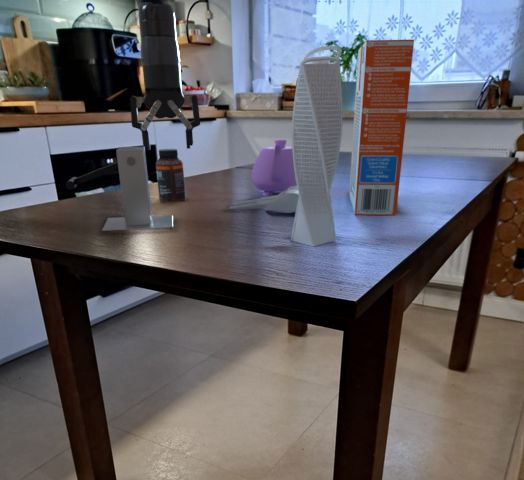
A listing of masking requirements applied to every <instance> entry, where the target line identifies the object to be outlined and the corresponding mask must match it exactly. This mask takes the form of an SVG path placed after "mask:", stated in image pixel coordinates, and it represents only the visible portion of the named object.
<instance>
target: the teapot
mask: <svg viewBox="0 0 524 480" xmlns="http://www.w3.org/2000/svg"><path fill="white" fill-rule="evenodd" d="M274 144H275V146H265V147H263V148H262V149H261V151H260V152H259V154H258V156H257V157H256V159H255V161H254V163H253V166H252V171H251V175H250V181H251V183H252V184H253V185H254V187H255V188H256V189H257V190H259V191H263V193H262V196H264V197H267V196H273V195H274V194H273V193H274V192H275V193H276V192H278V193H279V192H280V193H281V192H283V191H284V190H286V189H287V188H289V187H291V186H297V184H296V178H295V171H294V164H293V154H292V145H291V146H290V145H289V146H287V145H286V144H287V140H286V139H274Z"/></svg>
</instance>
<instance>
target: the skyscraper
mask: <svg viewBox="0 0 524 480" xmlns="http://www.w3.org/2000/svg"><path fill="white" fill-rule="evenodd" d="M330 50H331V51H332V50H333V51H337V53H336V55H335V56H326V55H325V56H324V55H323V56H313V55H314V54H316V53H319V52H323V51H330ZM342 51H343V50H342V48H341V47H340V46H337V45H324V46H319V47H316V48H314V49H312V50H311V51H309V52H308V53H307V54H306V55H305V56H304V58H302V61H301V62H300V65H299V69H298V73H297V81H296V87H295V93H294V99H293V100H294V101H293V108H292V117H291V147H292V154H293V164H294V171H295V178H296V184H297V189H298V194H299V199H298V204H297V209H296V213H294V220H293V223H292V229H291V230H292V231H291V236H290V242H294V243H298V244H302V245H307V246H311V247H316V246H322V245H324V244H327V243H331V242H336V241H337V236H336V229H335V227H336V226H335V221H334V213H333V206H332V200H331V199H332V198H331V189H332V185H333V182H334V178H335V175H336V171H337V166H338V163H339V156H340V150H341V145H342V137H343V115H344V113H343V89H342V78H341V66H340V65H341V64H340V63H341V62H340V56H341V53H342ZM330 62H333V63H330Z"/></svg>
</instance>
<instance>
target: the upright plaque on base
mask: <svg viewBox="0 0 524 480" xmlns="http://www.w3.org/2000/svg"><path fill="white" fill-rule="evenodd" d="M115 151H116V160H117V161H116V162H118V169H117V170H118V175H119V177H118V178H119V184H120V192H121V200H122V207H123V216H121V217H108V218H107V220H106V221H105V223H104V225H103V228H102V229H101V232H119V231H120V232H122V231H141V230H143V231H144V230H162V229H163V230H164V229H165V230H166V229H174V215H173V214H171V215H170V214H169V215H153V214H152V206H151V205H152V204H151V195H150V187H149V185H150V184H149V175H148V167H147V156H146V147H144V146H118V149H116V150H115Z"/></svg>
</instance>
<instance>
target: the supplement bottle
mask: <svg viewBox="0 0 524 480" xmlns="http://www.w3.org/2000/svg"><path fill="white" fill-rule="evenodd" d="M158 156H159V158H158V160H156V162H155V170H156V171H155V172H156V180H157V189H158V198H159V203H181V202H183V203H185V202H186V201H187V195H186V194H187V193H186V184H185V183H186V182H185V171H184V162H183V160H181V159H179V153H178V149H177V148H162V149H159V150H158Z"/></svg>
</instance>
